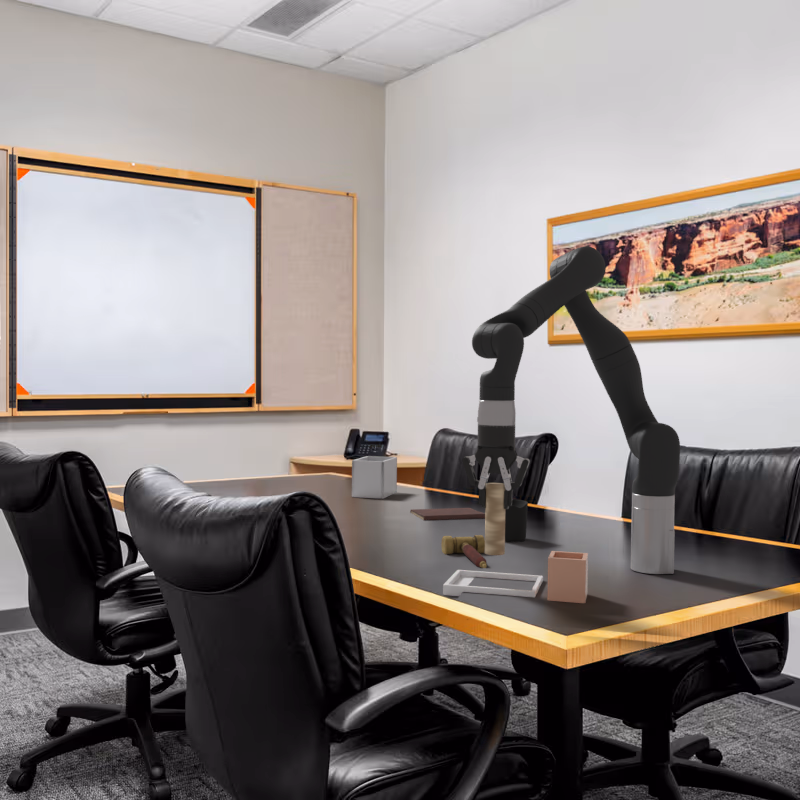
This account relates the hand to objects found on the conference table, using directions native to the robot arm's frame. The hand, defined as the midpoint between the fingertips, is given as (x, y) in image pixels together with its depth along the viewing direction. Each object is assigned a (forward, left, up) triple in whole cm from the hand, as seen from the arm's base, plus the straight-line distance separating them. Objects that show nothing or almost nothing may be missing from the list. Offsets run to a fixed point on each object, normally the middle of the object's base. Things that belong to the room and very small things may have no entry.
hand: (495, 507), depth 174 cm
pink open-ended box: (-15, +5, -17) cm, 23 cm away
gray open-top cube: (+64, -126, -17) cm, 142 cm away
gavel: (+10, -28, -17) cm, 34 cm away
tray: (0, 0, -17) cm, 17 cm away
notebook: (+29, -89, -18) cm, 95 cm away
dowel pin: (0, 0, -9) cm, 9 cm away
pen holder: (+5, -56, -17) cm, 59 cm away
